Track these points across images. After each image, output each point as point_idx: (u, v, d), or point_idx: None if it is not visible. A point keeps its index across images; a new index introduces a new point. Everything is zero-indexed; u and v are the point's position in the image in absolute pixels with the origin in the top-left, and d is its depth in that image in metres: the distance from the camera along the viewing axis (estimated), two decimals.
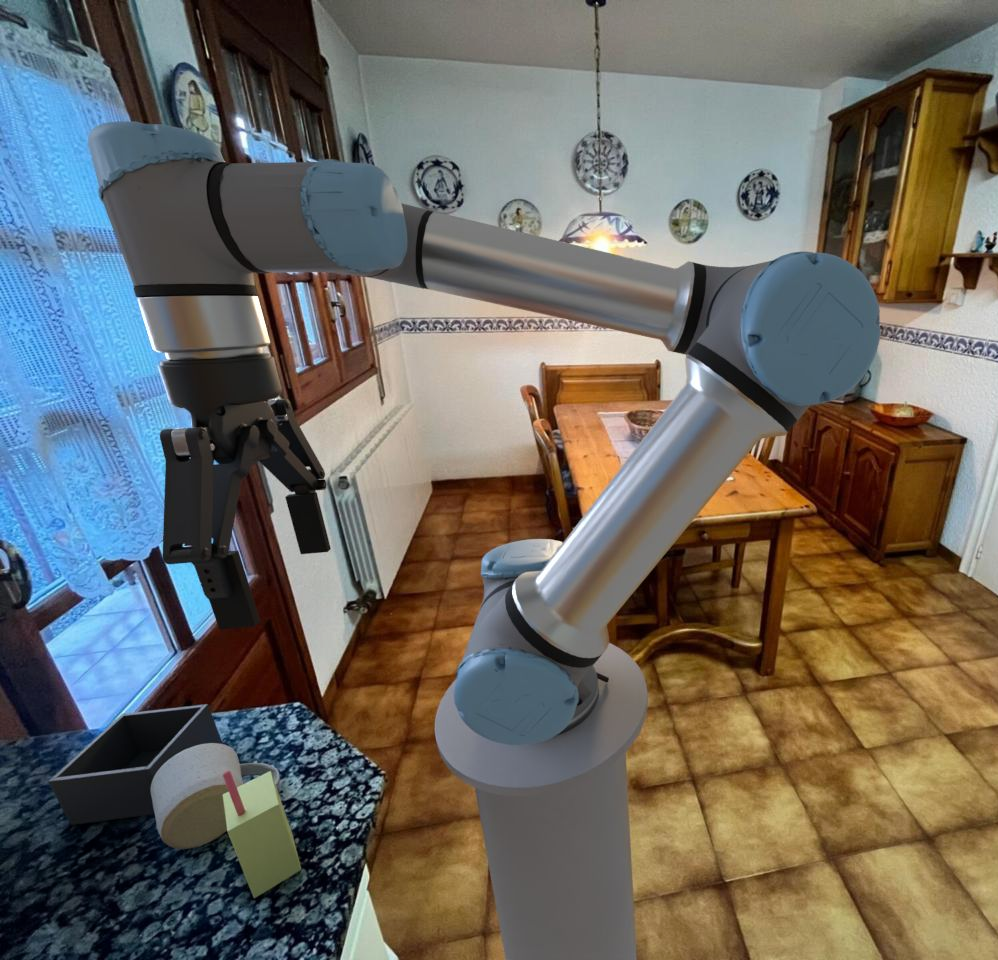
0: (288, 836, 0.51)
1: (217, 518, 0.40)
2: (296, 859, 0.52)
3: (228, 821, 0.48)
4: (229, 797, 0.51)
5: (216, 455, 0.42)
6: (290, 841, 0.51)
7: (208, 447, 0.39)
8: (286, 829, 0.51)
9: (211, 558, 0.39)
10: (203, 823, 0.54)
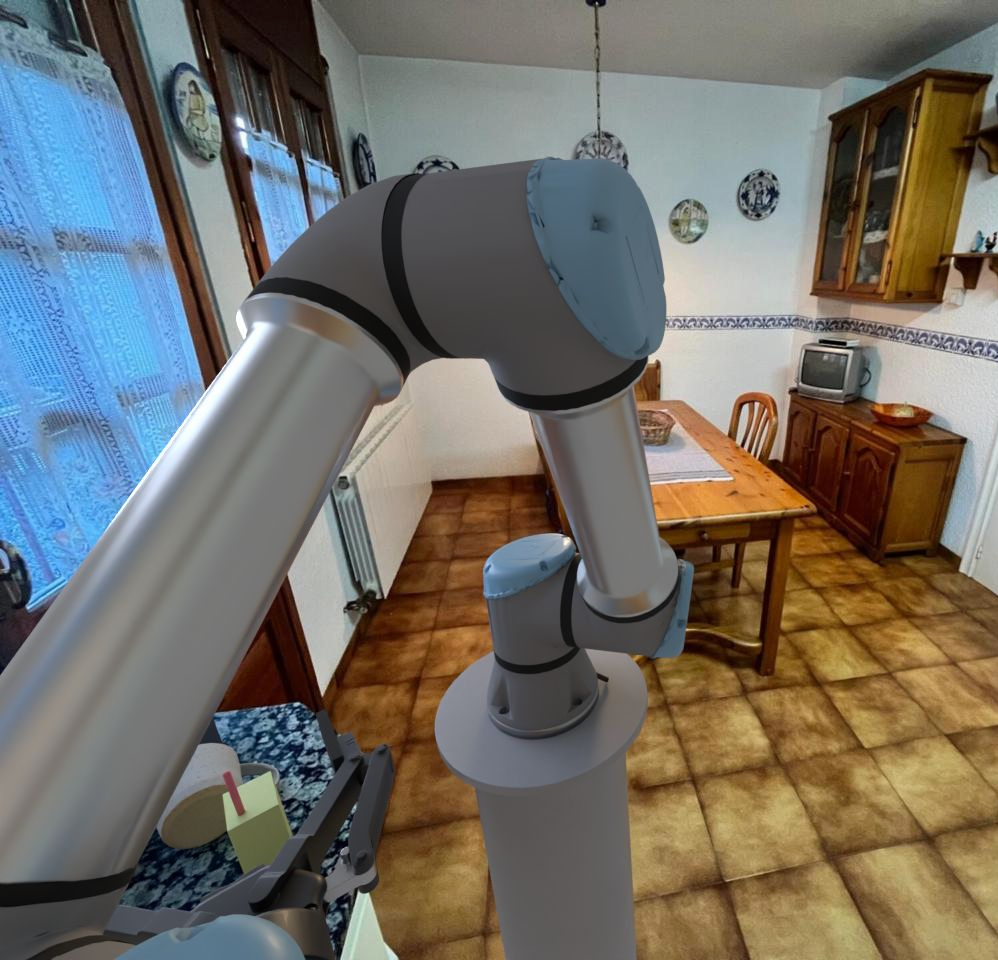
0: (288, 836, 0.51)
1: (346, 789, 0.37)
2: None
3: (228, 821, 0.48)
4: (229, 797, 0.51)
5: None
6: None
7: (353, 847, 0.33)
8: (286, 829, 0.51)
9: (364, 755, 0.40)
10: (203, 823, 0.54)
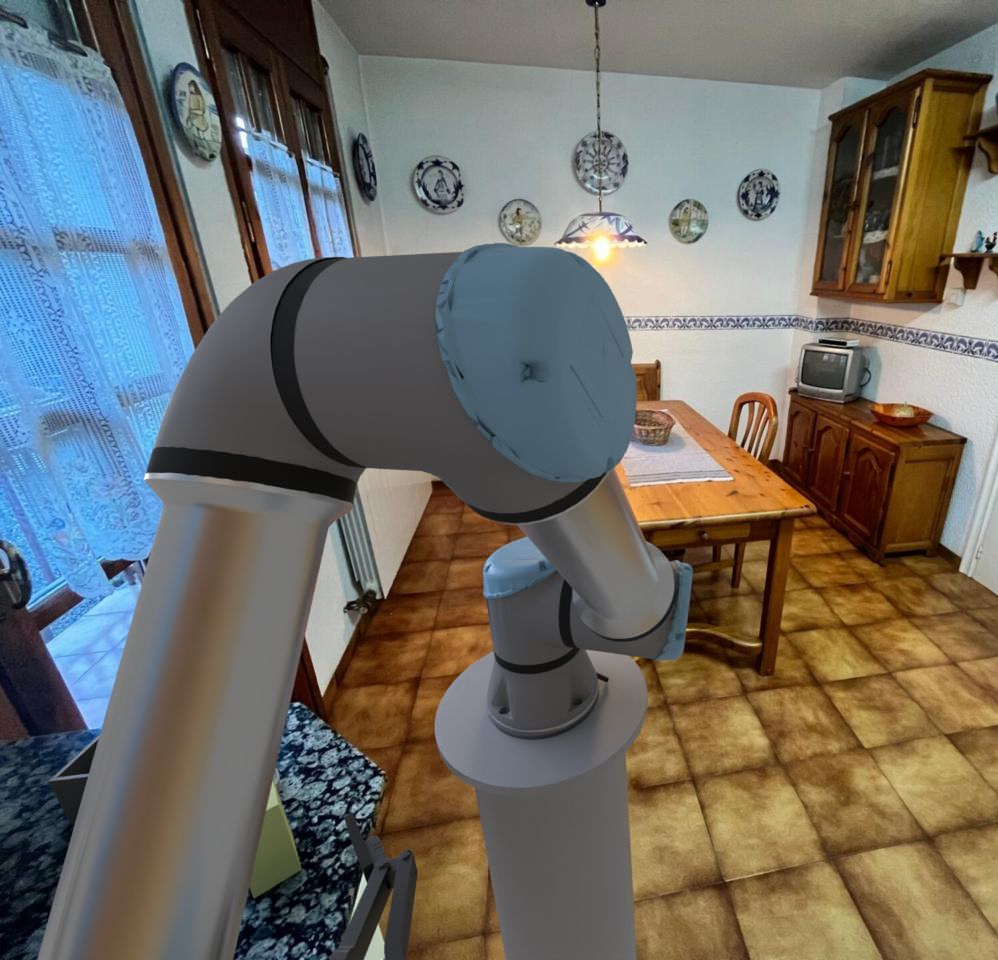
0: (288, 836, 0.51)
1: (377, 897, 0.43)
2: (296, 859, 0.52)
3: None
4: None
5: None
6: (290, 841, 0.51)
7: (388, 958, 0.38)
8: (286, 829, 0.51)
9: (390, 860, 0.46)
10: None
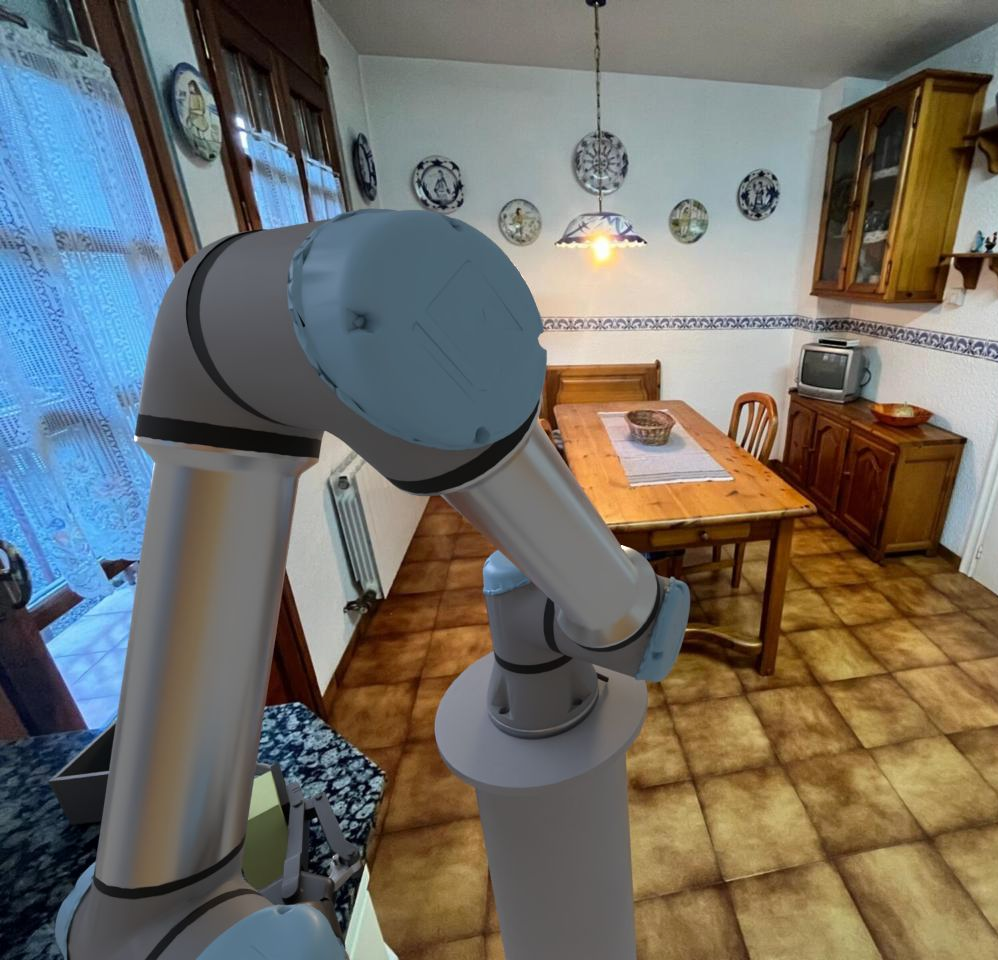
0: None
1: (304, 823, 0.50)
2: None
3: None
4: None
5: None
6: None
7: (340, 852, 0.47)
8: (286, 829, 0.51)
9: None
10: None
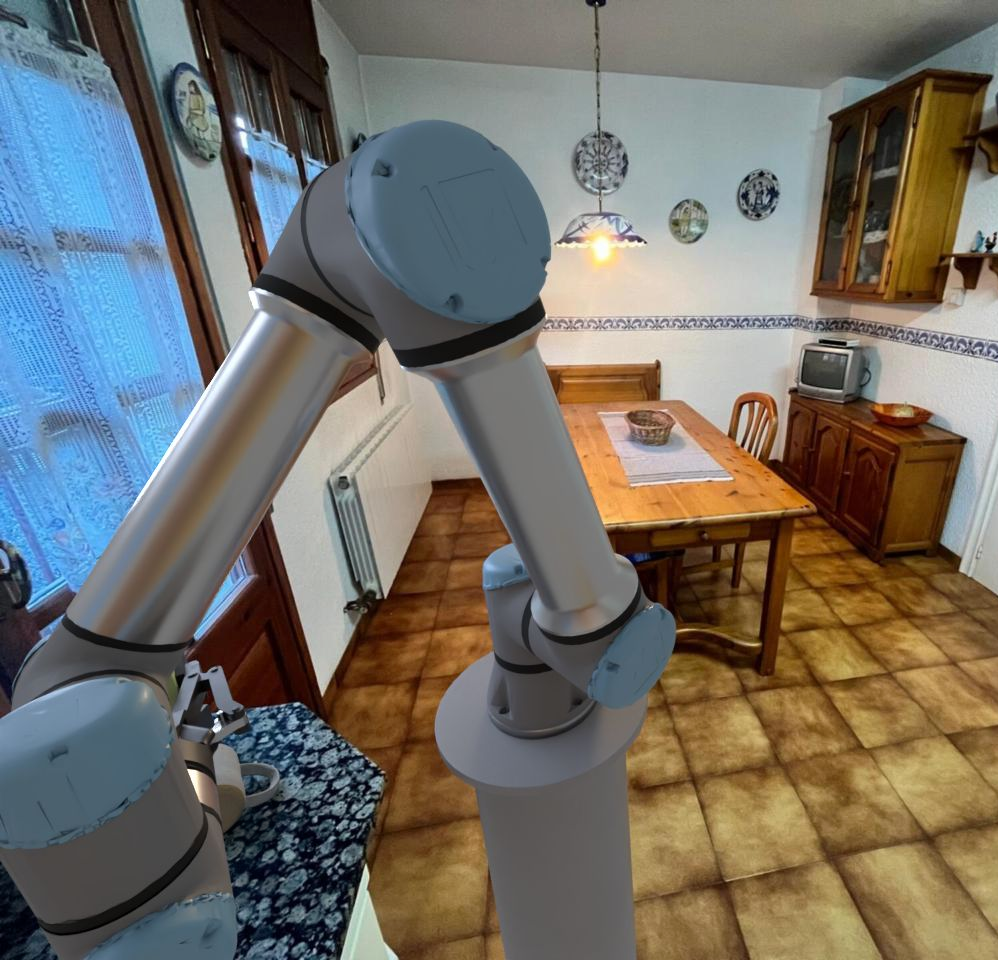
0: None
1: (196, 690, 0.51)
2: None
3: None
4: None
5: None
6: None
7: (225, 709, 0.48)
8: None
9: None
10: None
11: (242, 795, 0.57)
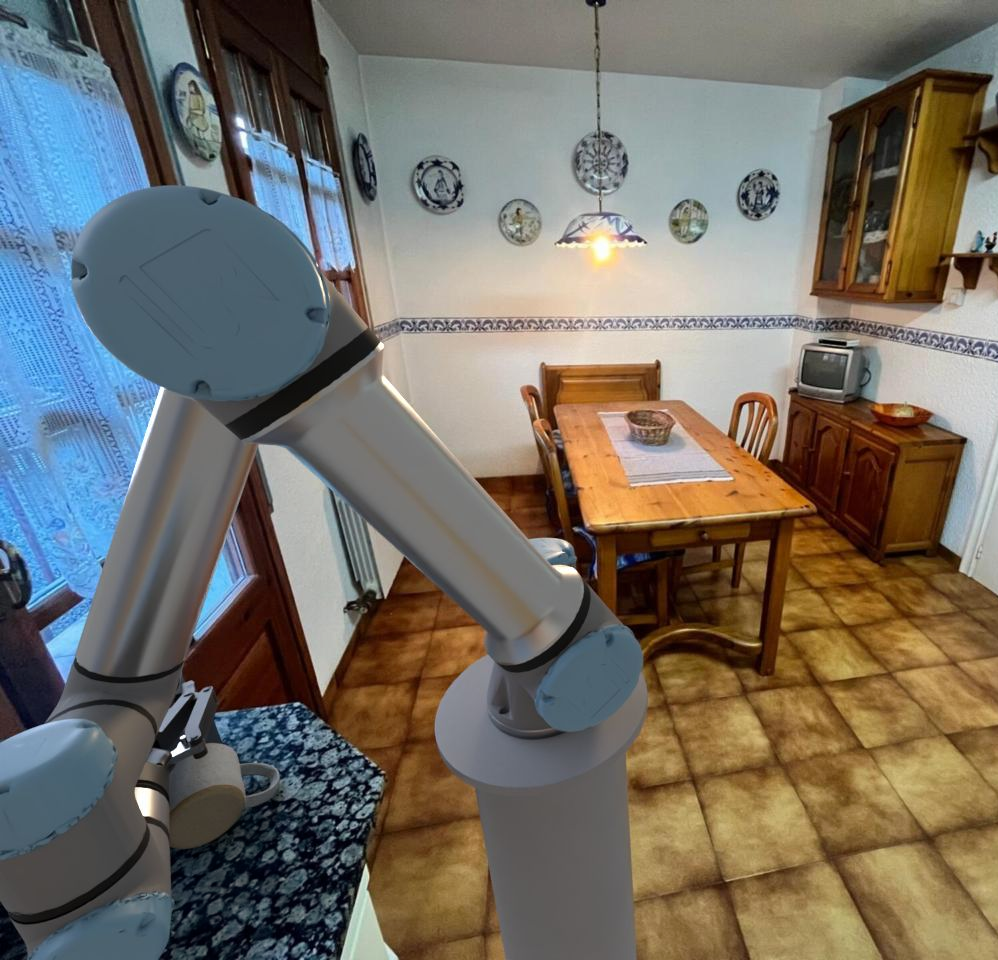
0: None
1: (183, 710, 0.60)
2: None
3: None
4: None
5: None
6: None
7: (188, 734, 0.55)
8: None
9: (195, 693, 0.62)
10: (203, 823, 0.54)
11: (242, 795, 0.57)
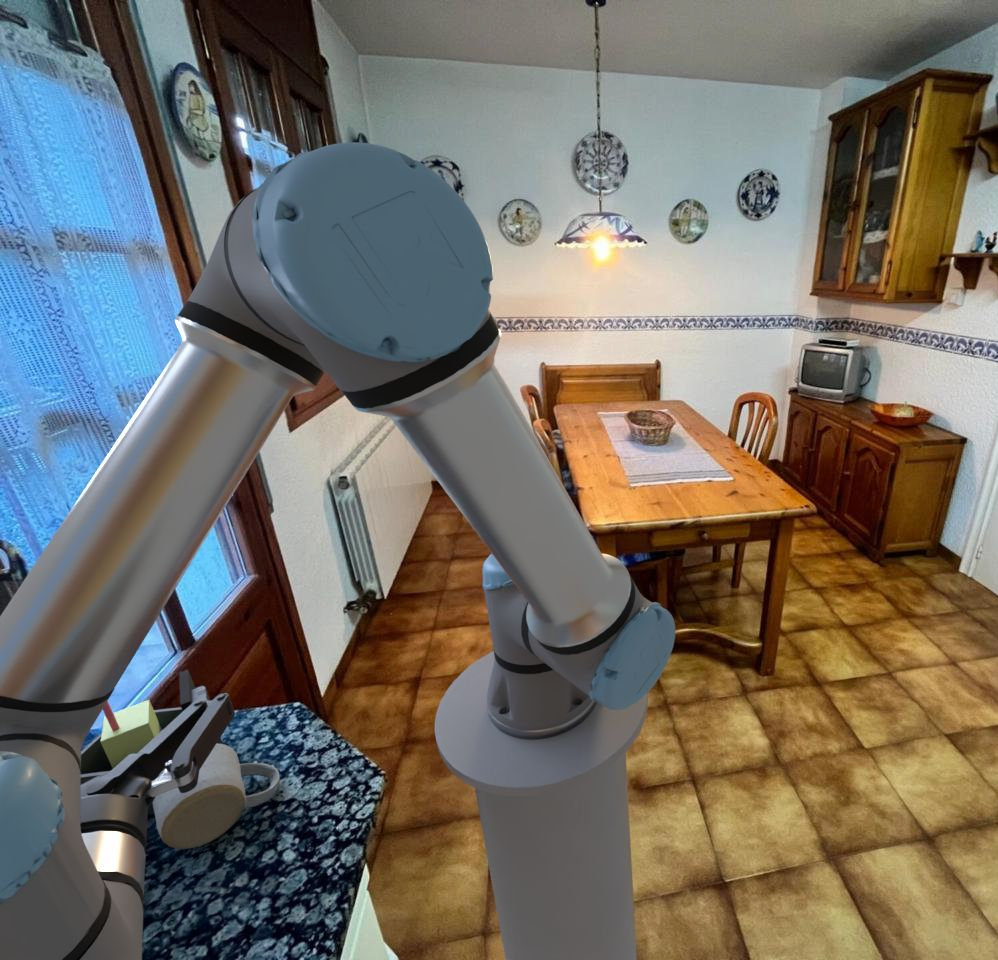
0: None
1: (186, 725, 0.49)
2: None
3: (103, 734, 0.58)
4: None
5: None
6: None
7: (175, 760, 0.45)
8: None
9: (208, 701, 0.52)
10: (203, 823, 0.54)
11: (242, 795, 0.57)
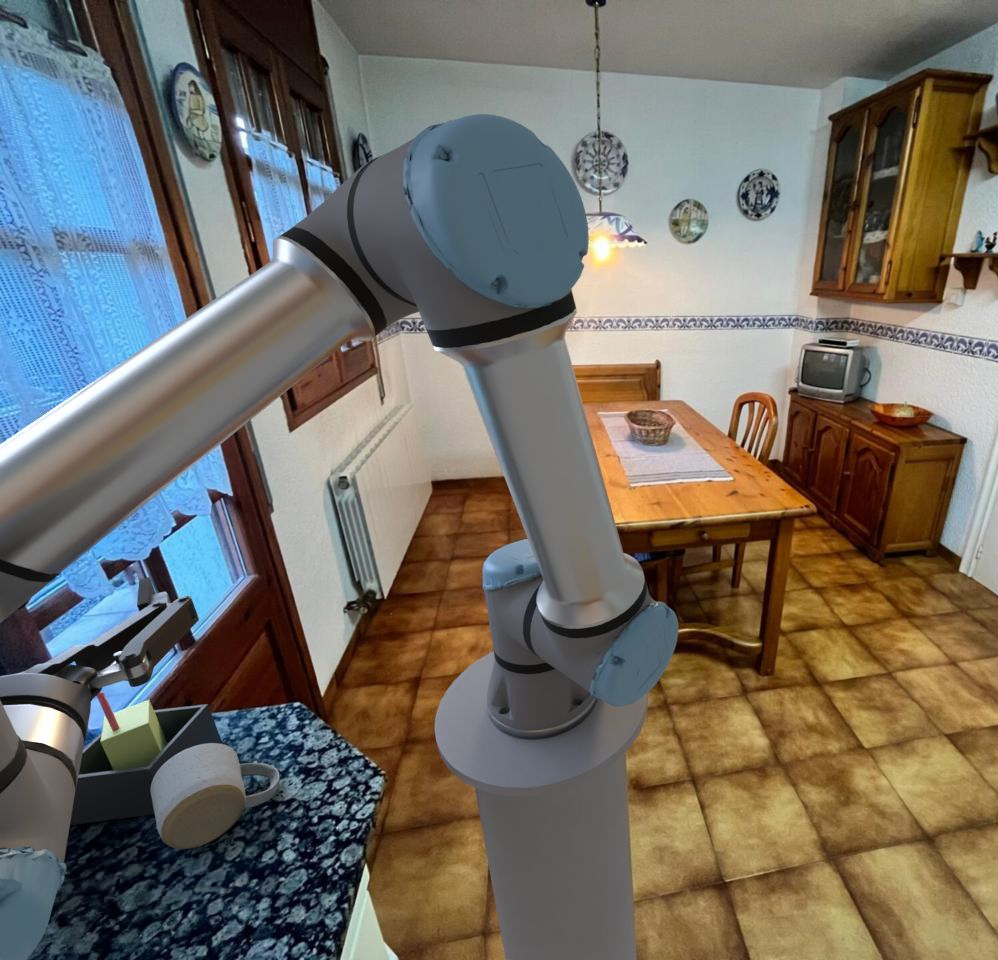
0: (159, 751, 0.61)
1: (141, 623, 0.45)
2: None
3: (103, 734, 0.58)
4: None
5: None
6: None
7: (125, 651, 0.40)
8: (157, 745, 0.61)
9: (168, 604, 0.47)
10: (203, 823, 0.54)
11: (242, 795, 0.57)
